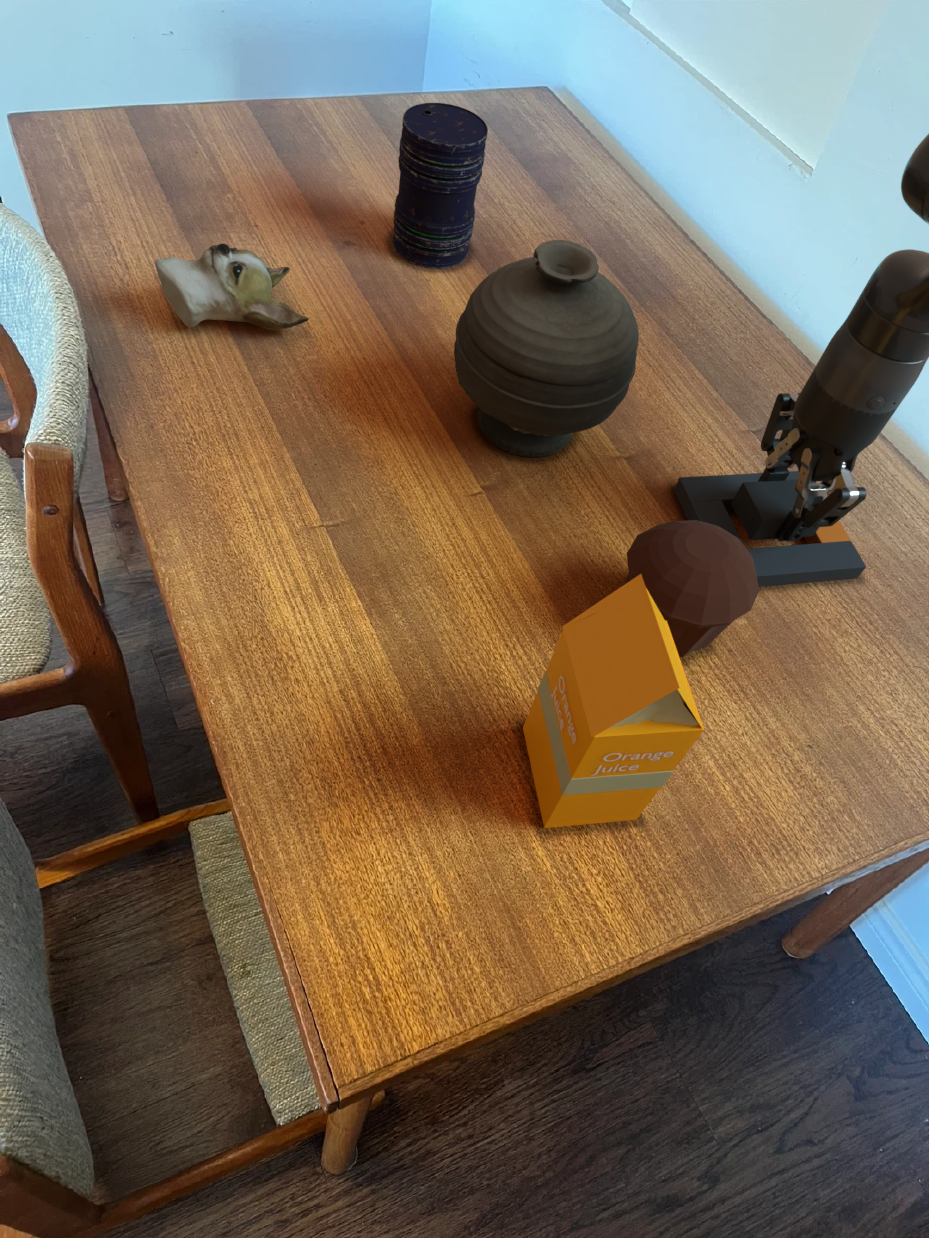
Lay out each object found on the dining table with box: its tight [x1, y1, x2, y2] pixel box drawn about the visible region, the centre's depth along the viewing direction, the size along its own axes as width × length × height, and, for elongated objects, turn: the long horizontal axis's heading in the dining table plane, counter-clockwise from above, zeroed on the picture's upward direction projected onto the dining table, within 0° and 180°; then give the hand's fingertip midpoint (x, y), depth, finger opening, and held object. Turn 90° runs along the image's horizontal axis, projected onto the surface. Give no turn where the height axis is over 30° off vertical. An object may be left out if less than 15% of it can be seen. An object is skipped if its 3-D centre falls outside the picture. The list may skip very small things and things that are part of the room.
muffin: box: [624, 520, 760, 658], centre depth 77 cm, size 12×11×10 cm
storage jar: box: [391, 102, 489, 270], centre depth 104 cm, size 10×10×15 cm
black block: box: [731, 479, 819, 542], centre depth 86 cm, size 7×5×3 cm
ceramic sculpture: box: [154, 243, 310, 331], centre depth 93 cm, size 11×9×15 cm
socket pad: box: [673, 470, 867, 588], centre depth 88 cm, size 15×13×2 cm
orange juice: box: [522, 574, 705, 829], centre depth 62 cm, size 8×9×20 cm
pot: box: [453, 239, 640, 458], centre depth 85 cm, size 18×18×20 cm
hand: (773, 516), depth 87 cm, fingers closed on black block, 5 cm apart
